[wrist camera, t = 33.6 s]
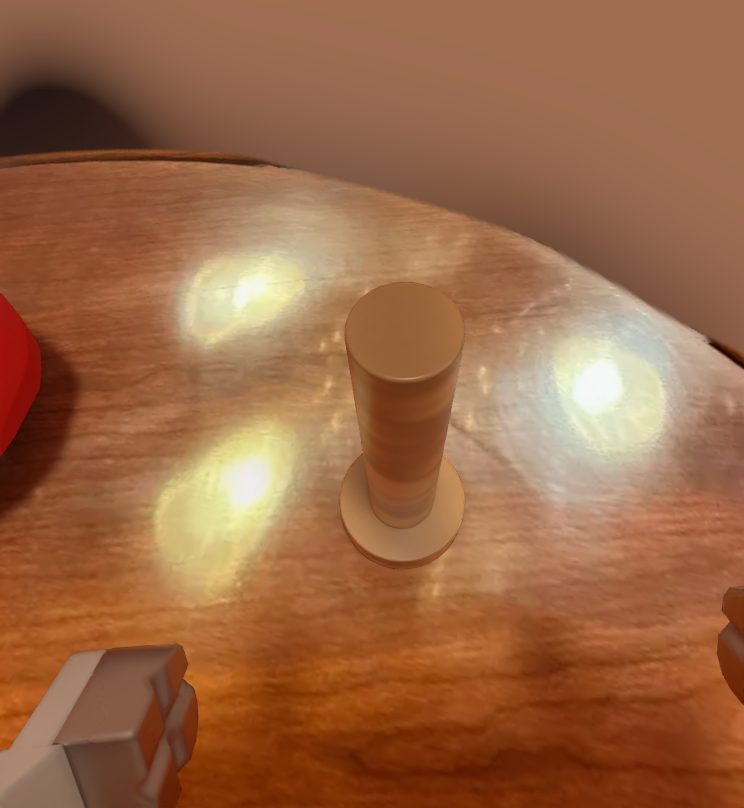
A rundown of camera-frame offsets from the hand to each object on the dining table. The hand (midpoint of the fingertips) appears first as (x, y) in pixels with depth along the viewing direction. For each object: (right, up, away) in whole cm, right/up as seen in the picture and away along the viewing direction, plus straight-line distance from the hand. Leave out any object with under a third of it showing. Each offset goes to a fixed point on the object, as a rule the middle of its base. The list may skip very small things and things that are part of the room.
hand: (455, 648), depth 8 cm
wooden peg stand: (0, -1, +16) cm, 16 cm away
